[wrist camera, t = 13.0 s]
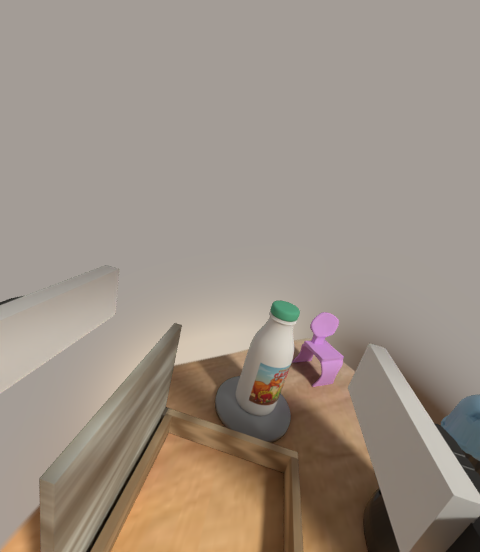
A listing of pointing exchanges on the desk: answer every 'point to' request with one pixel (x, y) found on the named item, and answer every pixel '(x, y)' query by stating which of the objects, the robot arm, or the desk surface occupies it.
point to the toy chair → (322, 348)
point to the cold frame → (140, 460)
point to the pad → (249, 424)
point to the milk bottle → (268, 361)
